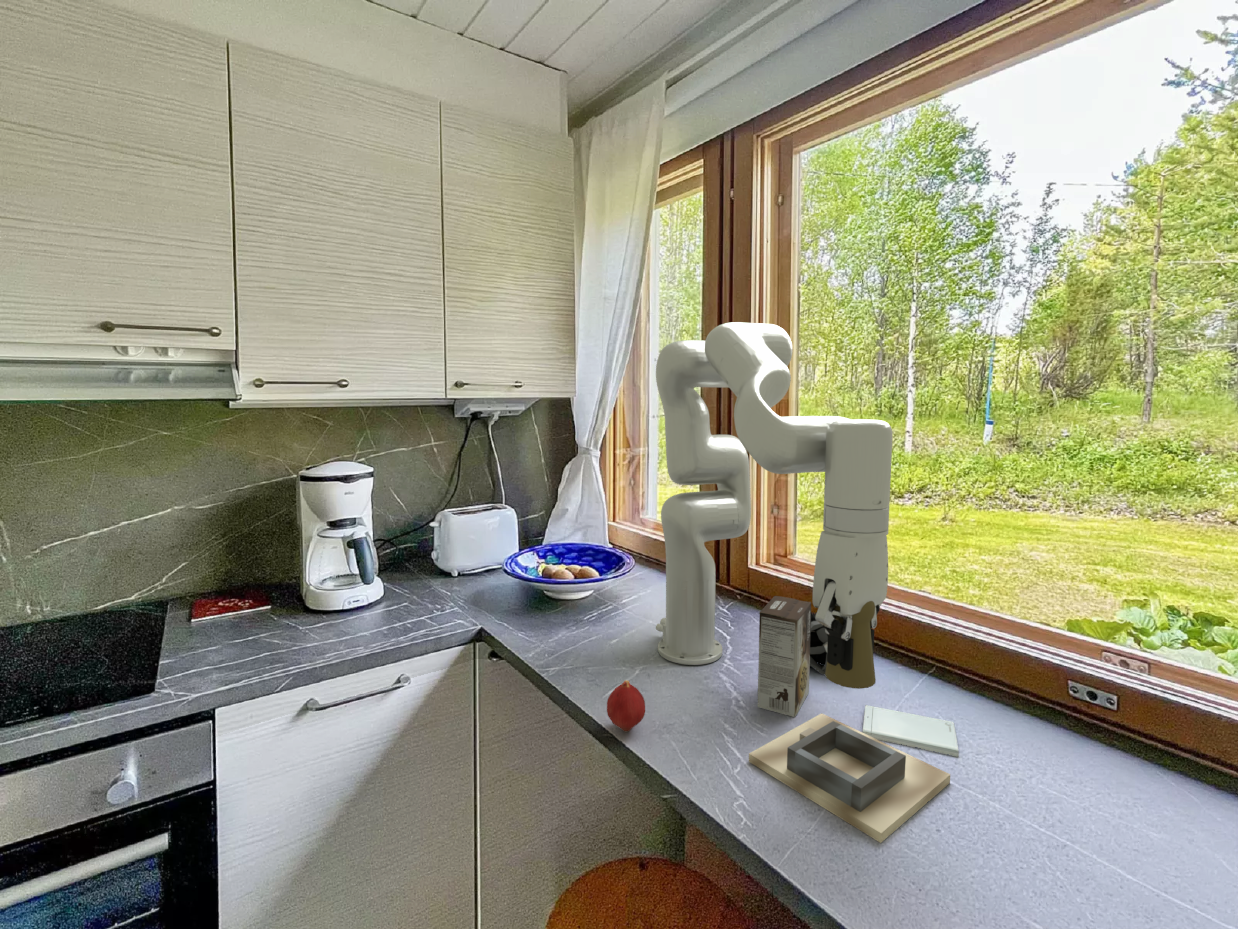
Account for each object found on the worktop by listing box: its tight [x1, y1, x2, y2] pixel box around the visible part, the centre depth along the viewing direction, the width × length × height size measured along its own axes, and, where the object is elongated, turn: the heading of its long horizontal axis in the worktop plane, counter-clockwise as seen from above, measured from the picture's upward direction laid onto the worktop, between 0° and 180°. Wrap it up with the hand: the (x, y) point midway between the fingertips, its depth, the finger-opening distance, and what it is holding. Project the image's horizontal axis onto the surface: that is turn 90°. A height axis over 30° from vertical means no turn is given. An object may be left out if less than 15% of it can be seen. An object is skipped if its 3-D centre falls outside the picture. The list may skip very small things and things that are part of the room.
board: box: [748, 713, 951, 844], centre depth 79 cm, size 19×17×4 cm
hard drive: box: [861, 705, 960, 758], centre depth 89 cm, size 2×8×12 cm
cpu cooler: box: [809, 611, 828, 675], centre depth 109 cm, size 10×6×10 cm, turn 76°
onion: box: [606, 679, 646, 733], centre depth 89 cm, size 6×6×8 cm
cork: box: [824, 601, 877, 690], centre depth 75 cm, size 6×6×11 cm
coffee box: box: [757, 595, 812, 718], centre depth 98 cm, size 9×6×16 cm
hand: (850, 659), depth 76 cm, fingers closed on cork, 4 cm apart
